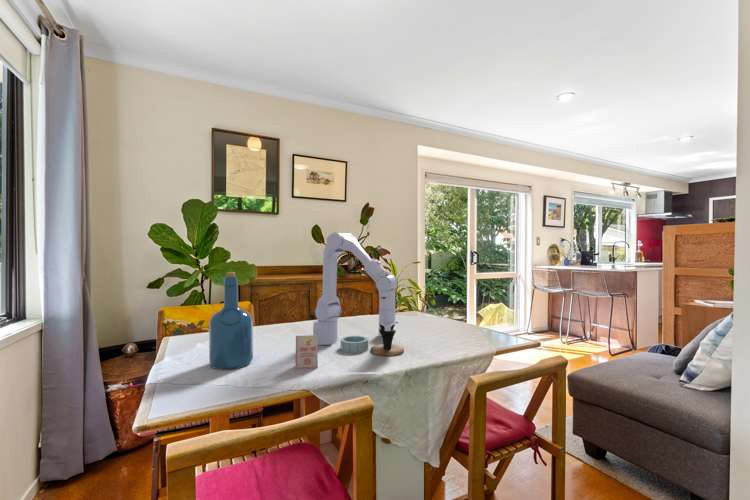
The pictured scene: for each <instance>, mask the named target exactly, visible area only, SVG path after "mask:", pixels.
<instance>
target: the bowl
mask: <svg viewBox="0 0 750 500" xmlns="http://www.w3.org/2000/svg"><path fill="white" fill-rule="evenodd" d="M340 351H342V352H344V353H345V352H346V353H353V354H355V353H356V354H357V353H363V352H366V351H369V338H368V337H366V336H363V335H347V336H343V337H340Z"/></svg>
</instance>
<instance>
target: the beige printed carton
mask: <svg viewBox="0 0 750 500" xmlns="http://www.w3.org/2000/svg"><path fill="white" fill-rule="evenodd" d="M318 346H319V345H318V340H317V335H313V334H311V335H309V334H308V335H307V334H306V335H295V370H303V369H316V368H317V369H318V367H319V366H318V365H319V364H318V361H319V360H318V359H319V357H318V355H319V354H318V352H319V351H318V348H319V347H318Z"/></svg>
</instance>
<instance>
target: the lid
mask: <svg viewBox="0 0 750 500" xmlns="http://www.w3.org/2000/svg"><path fill="white" fill-rule="evenodd" d="M404 352H405V348H404V347H403V346H402V345H398V344H392V345H391V349H390V350H385V349H384V345H383V343H382V344H375V345H373V346H371V347H370V353H371V354H372V355H373V354H375V355H374V356H381V357H394V356H401V355H400V354H402V355H403V354H404Z"/></svg>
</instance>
